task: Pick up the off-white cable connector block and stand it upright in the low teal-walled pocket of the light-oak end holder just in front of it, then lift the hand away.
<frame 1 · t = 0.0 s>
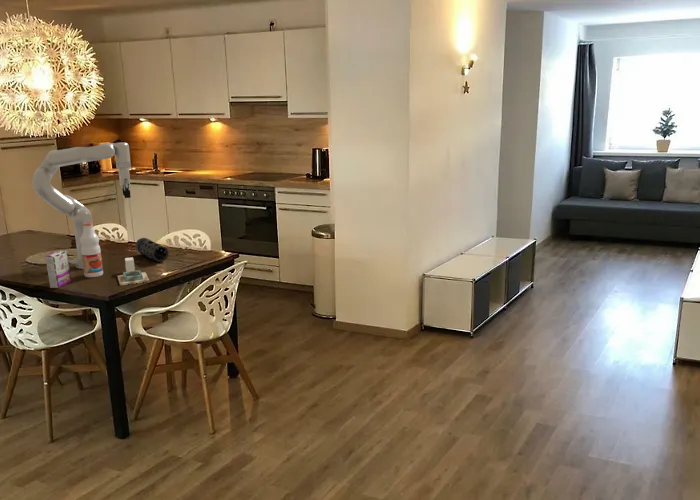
hand: (126, 196, 353), 37 cm above the table, tool pointing down, fingers open, 9 cm apart
candy bar box: (60, 285, 319), on the table
connector: (130, 272, 338), on the table
holder: (133, 279, 326), on the table
muzzle brake: (152, 259, 366), on the table
fruit juice: (94, 275, 335), on the table
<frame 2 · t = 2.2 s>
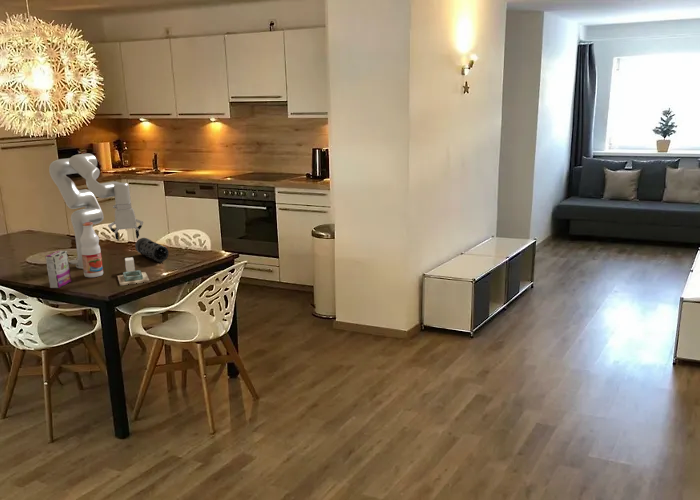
hand: (127, 239, 334), 18 cm above the table, tool pointing down, fingers open, 9 cm apart
nothing on the table moved.
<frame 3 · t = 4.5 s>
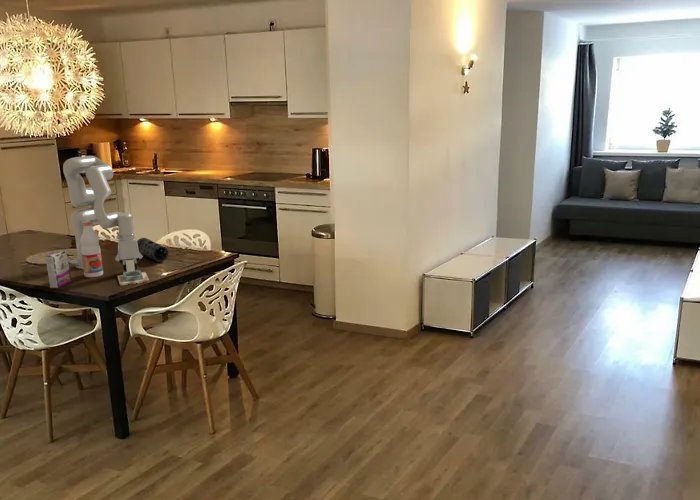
hand: (130, 270, 338), 1 cm above the table, tool pointing down, fingers closed on connector, 4 cm apart
connector: (130, 272, 338), on the table, touching gripper
everything else where it was.
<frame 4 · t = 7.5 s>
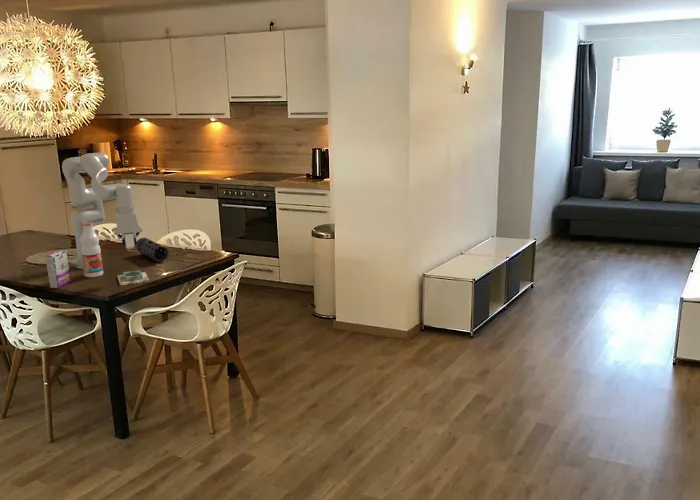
hand: (129, 245, 322), 18 cm above the table, tool pointing down, fingers closed on connector, 4 cm apart
connector: (130, 247, 322), point 17 cm above the table, touching gripper
everything else where it was.
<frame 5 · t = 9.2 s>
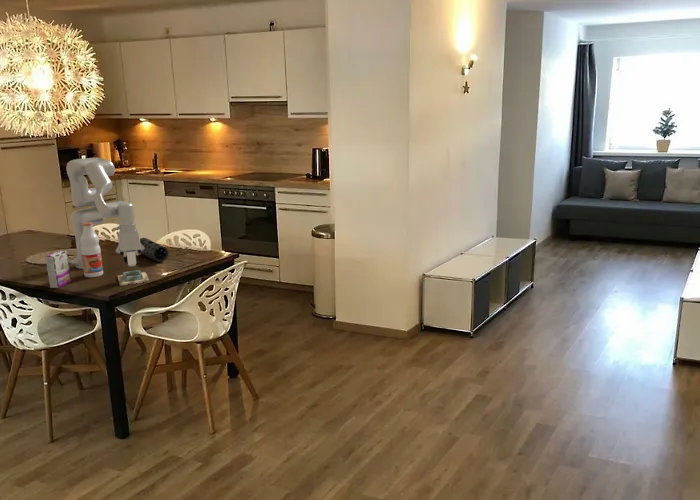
hand: (131, 262, 324), 9 cm above the table, tool pointing down, fingers closed on connector, 4 cm apart
connector: (131, 265, 324), point 8 cm above the table, touching gripper
everything else where it was.
when the fingers open (4 cm above the table, at t = 10.5 s): connector drops 1 cm, resting on holder.
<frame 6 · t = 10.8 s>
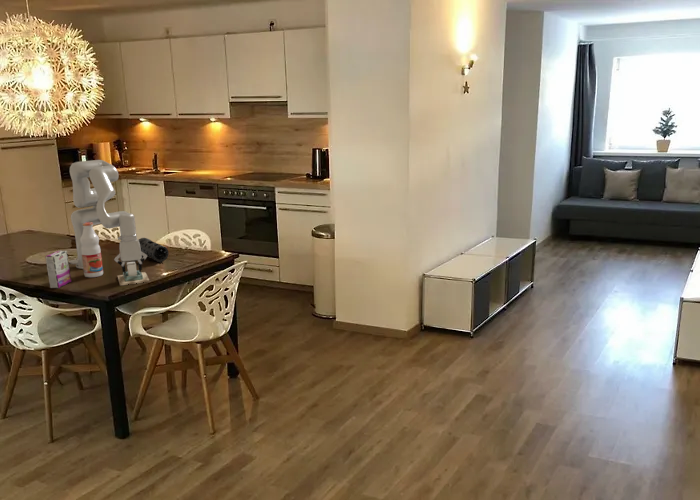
hand: (132, 272, 325), 4 cm above the table, tool pointing down, fingers open, 6 cm apart
connector: (132, 277, 326), point 1 cm above the table, touching holder
everything else where it was.
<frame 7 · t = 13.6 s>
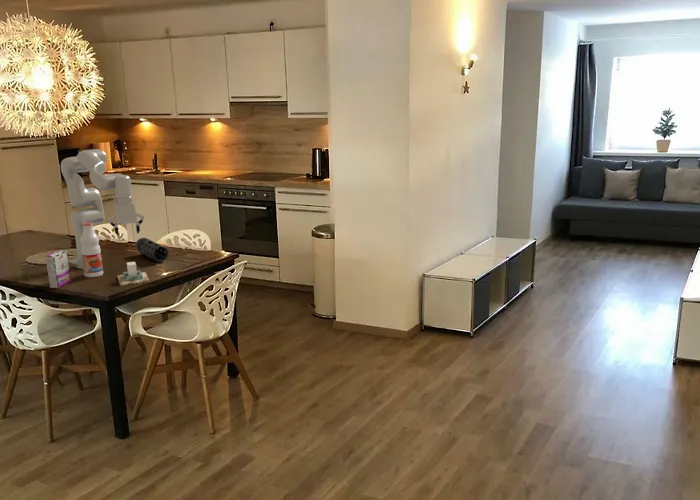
hand: (127, 234, 321), 24 cm above the table, tool pointing down, fingers open, 9 cm apart
nothing on the table moved.
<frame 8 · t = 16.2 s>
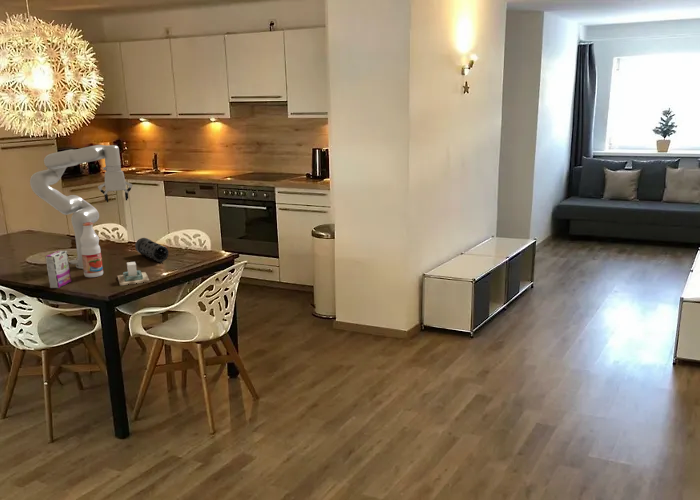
hand: (117, 201, 342), 36 cm above the table, tool pointing down, fingers open, 9 cm apart
nothing on the table moved.
at the end: connector 0.1 cm off-centre on the holder, point 1.0 cm above the holder's base; connector tilted 0°; the gripper is holding nothing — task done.
